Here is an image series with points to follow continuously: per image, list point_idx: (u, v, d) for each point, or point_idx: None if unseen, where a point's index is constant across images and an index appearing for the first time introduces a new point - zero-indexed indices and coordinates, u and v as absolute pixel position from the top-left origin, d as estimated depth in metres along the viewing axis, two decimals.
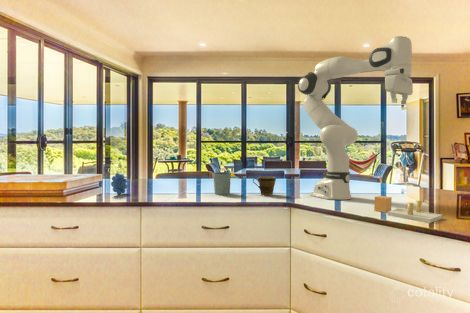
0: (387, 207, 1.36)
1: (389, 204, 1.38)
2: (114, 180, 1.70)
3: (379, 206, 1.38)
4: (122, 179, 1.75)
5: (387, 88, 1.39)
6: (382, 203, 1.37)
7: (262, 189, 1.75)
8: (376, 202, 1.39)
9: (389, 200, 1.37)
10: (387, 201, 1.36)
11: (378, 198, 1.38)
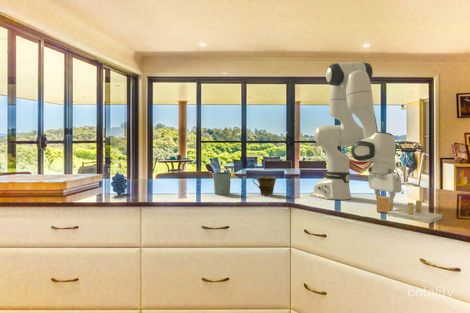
0: (390, 207, 1.35)
1: (391, 204, 1.36)
2: (114, 180, 1.70)
3: (381, 206, 1.36)
4: (122, 179, 1.75)
5: None
6: (385, 203, 1.35)
7: (262, 189, 1.75)
8: (378, 202, 1.37)
9: None
10: None
11: (380, 198, 1.36)
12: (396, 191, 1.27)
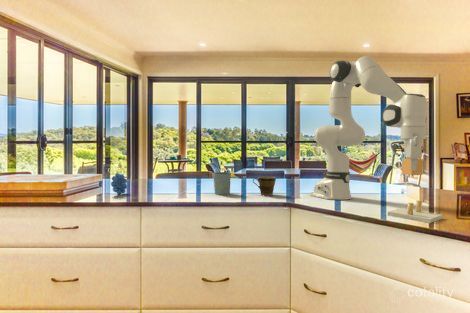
0: None
1: (418, 166, 1.23)
2: (114, 180, 1.70)
3: (406, 168, 1.25)
4: (122, 179, 1.75)
5: None
6: (408, 164, 1.24)
7: (262, 189, 1.75)
8: (403, 164, 1.27)
9: (418, 162, 1.23)
10: None
11: (405, 159, 1.26)
12: (414, 157, 1.17)
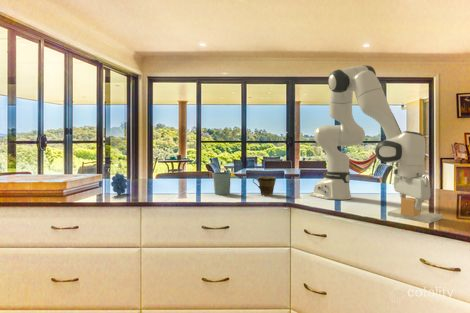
0: (415, 210, 1.24)
1: None
2: (114, 180, 1.70)
3: (406, 209, 1.25)
4: (122, 179, 1.75)
5: None
6: (410, 206, 1.24)
7: (262, 189, 1.75)
8: (402, 204, 1.26)
9: None
10: (415, 203, 1.24)
11: (405, 200, 1.25)
12: (424, 198, 1.16)
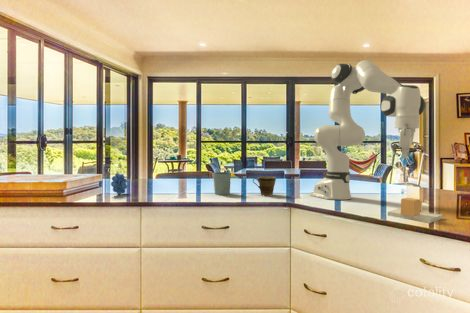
0: (415, 210, 1.24)
1: (417, 207, 1.25)
2: (114, 180, 1.70)
3: (406, 209, 1.25)
4: (122, 179, 1.75)
5: None
6: (410, 206, 1.24)
7: (262, 189, 1.75)
8: (402, 204, 1.26)
9: (417, 202, 1.25)
10: (415, 203, 1.24)
11: (405, 200, 1.25)
12: (403, 146, 1.25)
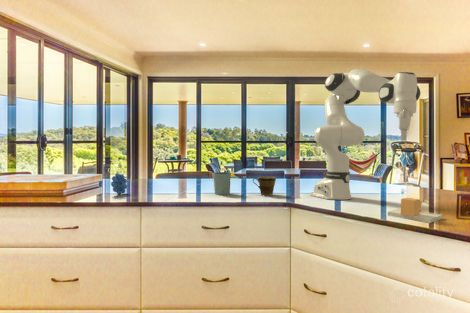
0: (415, 210, 1.24)
1: (417, 207, 1.25)
2: (114, 180, 1.70)
3: (406, 209, 1.25)
4: (122, 179, 1.75)
5: None
6: (410, 206, 1.24)
7: (262, 189, 1.75)
8: (402, 204, 1.26)
9: (417, 202, 1.25)
10: (415, 203, 1.24)
11: (405, 200, 1.25)
12: (402, 127, 1.32)
